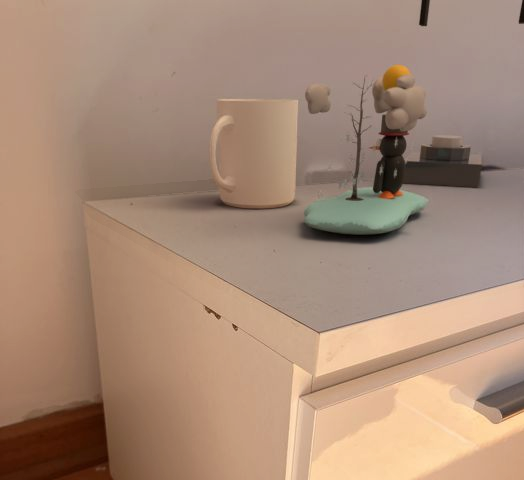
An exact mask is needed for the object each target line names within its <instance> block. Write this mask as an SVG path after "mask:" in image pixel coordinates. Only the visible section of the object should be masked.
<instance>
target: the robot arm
mask: <svg viewBox="0 0 524 480" xmlns="http://www.w3.org/2000/svg"><path fill="white" fill-rule="evenodd" d="M420 3H421V4H420V10H419V22H418V26H420V27H427V26H428V20H429V12H430V3H431V0H421V1H420ZM518 25H524V0H521V6H520V11H519V17H518Z"/></svg>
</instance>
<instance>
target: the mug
mask: <svg viewBox="0 0 524 480" xmlns="http://www.w3.org/2000/svg"><path fill="white" fill-rule="evenodd" d="M216 114H217V117H216V119H217V121H216V123H215V124H214V126H213V127H212V131H211V134H210V137H209V146H208V148H209V149H208V159H209V162H208V163H209V167H210V173H211V176H212V179H213V181H214V182H215V184H216V185H217V187H218V191H219V192H218V193H219V199H220V200H221V202H222V203H224V204H225V205H227V206H230V207H234V208H235V207H236V208H239V209H240V208H241V209H255V210H256V209H259V210H260V209H276V208H282V207H285V206H288V205H290V204H292V203H293V201H294V200H295V196H296V195H295V194H296V179H297V178H296V177H297V174H296V173H297V148H298V147H297V146H298V120H299V119H298V116H299V100H298V99H279V98H277V99H276V98H222V99H221V98H220V99H216ZM216 149H217V150H216ZM216 151H217V155H216ZM217 156H218V157H217ZM217 159H218V162H217ZM217 163H218V166H217Z"/></svg>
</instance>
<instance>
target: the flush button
mask: <svg viewBox="0 0 524 480" xmlns="http://www.w3.org/2000/svg"><path fill="white" fill-rule="evenodd" d="M430 143H431V146H436V147H461V145H462V143H463V136H460V135H447V134H446V135H445V134H441V135H440V134H439V135H437V134H436V135H432V138H431V142H430Z"/></svg>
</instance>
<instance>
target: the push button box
mask: <svg viewBox="0 0 524 480" xmlns="http://www.w3.org/2000/svg"><path fill="white" fill-rule="evenodd" d="M431 143H432V142H430V143H422V144H420V151H419V152H418V151H417V152H416V151H412V152H411V153H410V154H409V155H408V156H406V157H405V159H406V160H407V163H406V165H405V172H404V181H403V184H411V185H412V184H413V185H414V184H415V185H429V186H448V187H464V188H479V185H480V180H481V179H480V178H481V174H482V169H483V168H482V167H483V159H482V154H471V148H472V146H471V145H468V144H461V147H436V146H431ZM405 159H404V161H405Z"/></svg>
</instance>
